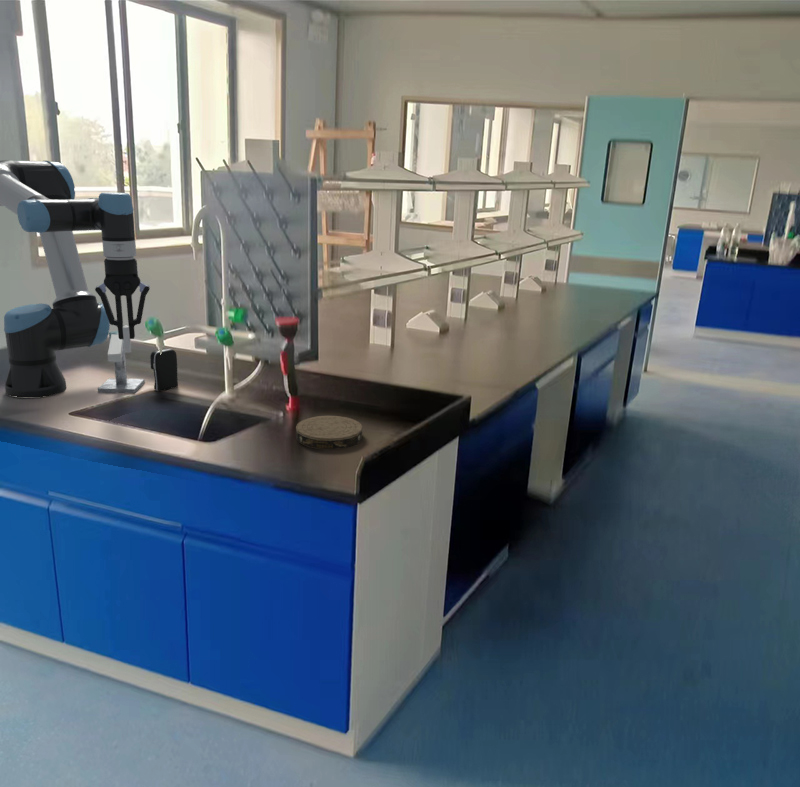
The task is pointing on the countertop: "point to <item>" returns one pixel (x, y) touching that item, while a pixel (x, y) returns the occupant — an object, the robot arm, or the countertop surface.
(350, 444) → the grey round disc
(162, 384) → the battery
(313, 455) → the countertop surface
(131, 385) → the post
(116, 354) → the swing arm
